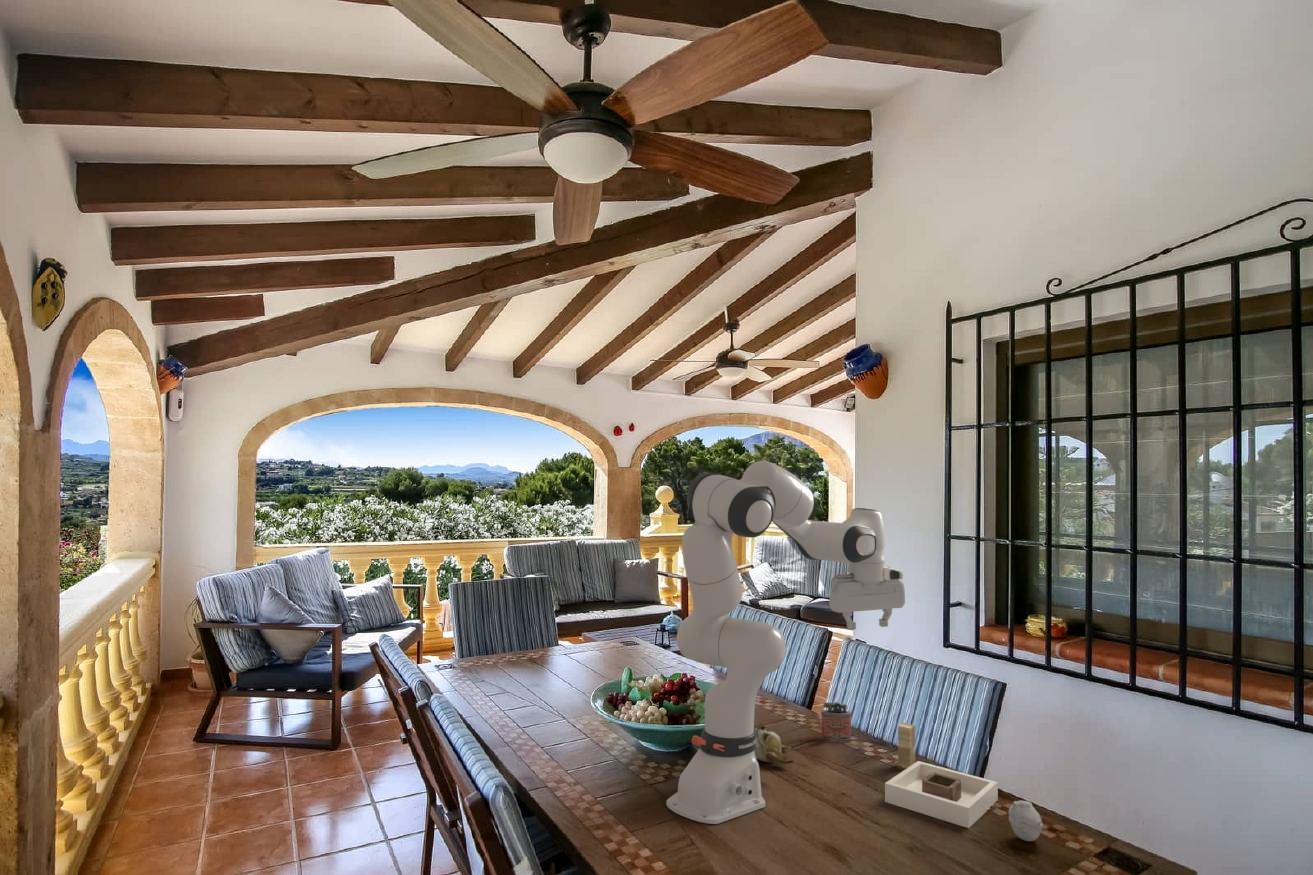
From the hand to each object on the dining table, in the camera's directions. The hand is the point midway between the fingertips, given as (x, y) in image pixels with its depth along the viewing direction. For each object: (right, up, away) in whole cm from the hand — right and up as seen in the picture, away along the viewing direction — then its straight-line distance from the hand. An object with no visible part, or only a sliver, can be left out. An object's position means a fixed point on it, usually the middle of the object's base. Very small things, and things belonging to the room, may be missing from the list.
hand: (867, 627), depth 188 cm
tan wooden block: (+9, -33, -3) cm, 35 cm away
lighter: (-4, -35, +15) cm, 38 cm away
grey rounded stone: (+20, -32, -40) cm, 55 cm away
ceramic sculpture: (-26, -34, 0) cm, 42 cm away
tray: (+10, -32, -23) cm, 41 cm away
